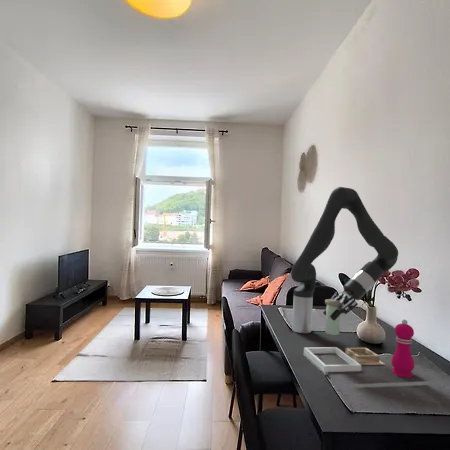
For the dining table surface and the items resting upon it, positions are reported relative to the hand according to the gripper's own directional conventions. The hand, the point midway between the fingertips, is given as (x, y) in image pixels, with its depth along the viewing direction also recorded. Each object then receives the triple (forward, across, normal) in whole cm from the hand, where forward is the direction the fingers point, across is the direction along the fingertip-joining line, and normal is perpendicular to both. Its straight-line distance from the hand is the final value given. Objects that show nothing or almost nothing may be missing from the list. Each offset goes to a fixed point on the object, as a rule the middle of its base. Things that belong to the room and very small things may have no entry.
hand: (328, 316), depth 130 cm
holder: (+2, -2, +24) cm, 24 cm away
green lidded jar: (+3, 0, +6) cm, 6 cm away
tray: (+11, 0, +14) cm, 18 cm away
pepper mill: (-3, +12, +29) cm, 31 cm away
